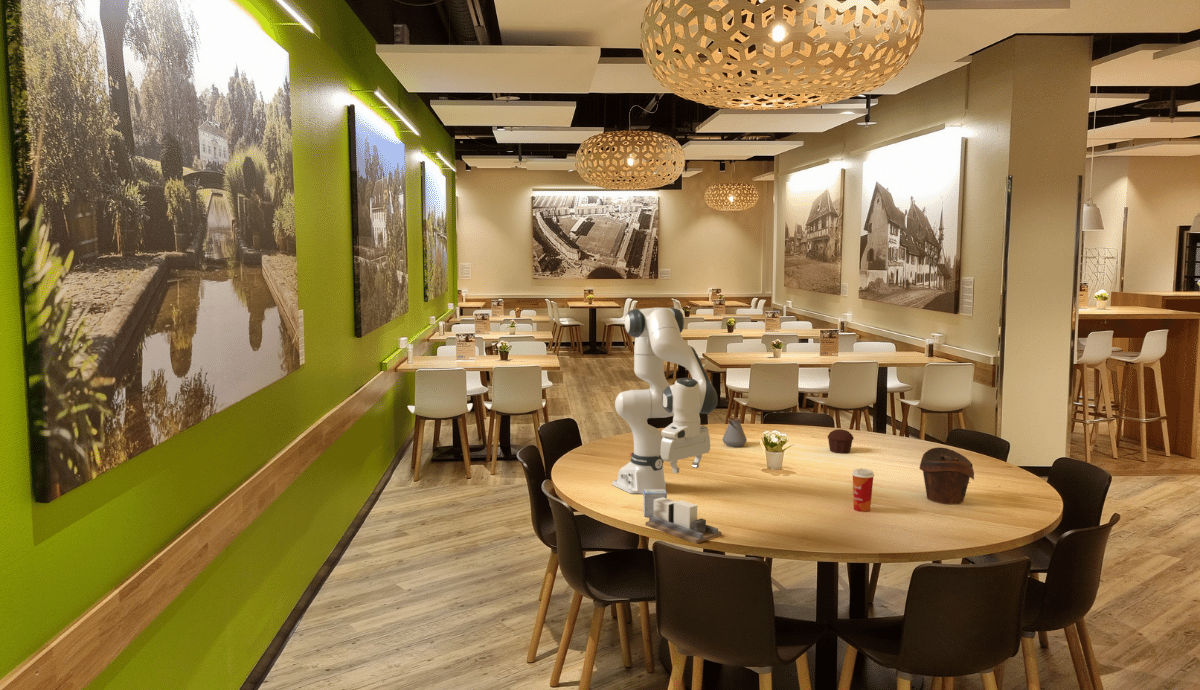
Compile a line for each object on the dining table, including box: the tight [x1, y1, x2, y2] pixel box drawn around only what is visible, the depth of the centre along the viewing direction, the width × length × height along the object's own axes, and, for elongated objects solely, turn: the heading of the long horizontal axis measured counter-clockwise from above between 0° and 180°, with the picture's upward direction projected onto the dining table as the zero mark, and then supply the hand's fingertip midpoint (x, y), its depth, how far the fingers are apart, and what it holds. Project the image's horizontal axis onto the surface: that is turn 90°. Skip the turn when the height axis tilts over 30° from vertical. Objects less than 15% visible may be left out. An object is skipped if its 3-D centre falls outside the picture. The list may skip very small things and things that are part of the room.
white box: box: [673, 499, 698, 530], centre depth 267 cm, size 4×8×8 cm, turn 41°
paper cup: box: [851, 468, 875, 513], centre depth 289 cm, size 8×8×14 cm
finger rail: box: [645, 497, 723, 544], centre depth 267 cm, size 23×12×8 cm, turn 41°
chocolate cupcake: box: [919, 446, 975, 505], centre depth 300 cm, size 18×20×18 cm
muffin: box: [827, 428, 854, 455], centre depth 373 cm, size 12×11×10 cm
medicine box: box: [642, 489, 668, 518], centre depth 283 cm, size 8×4×9 cm, turn 92°
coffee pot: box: [721, 417, 747, 448], centre depth 380 cm, size 21×12×15 cm, turn 161°
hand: (685, 470), depth 265 cm, fingers open, 8 cm apart
